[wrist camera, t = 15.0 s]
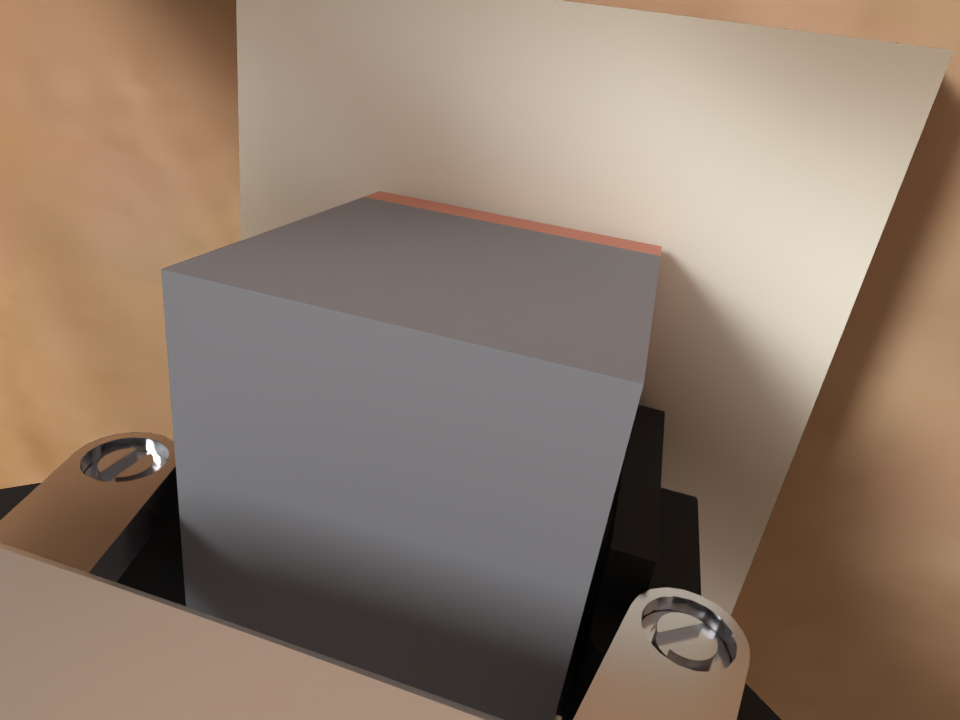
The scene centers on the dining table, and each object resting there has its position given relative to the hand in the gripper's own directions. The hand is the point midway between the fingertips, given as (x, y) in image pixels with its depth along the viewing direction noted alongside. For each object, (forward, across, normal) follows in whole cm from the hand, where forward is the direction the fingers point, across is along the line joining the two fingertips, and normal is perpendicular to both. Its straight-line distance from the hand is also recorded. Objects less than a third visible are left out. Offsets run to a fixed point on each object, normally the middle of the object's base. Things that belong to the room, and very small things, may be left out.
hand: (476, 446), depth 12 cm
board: (+2, 0, +6) cm, 6 cm away
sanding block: (0, 0, 0) cm, 0 cm away
